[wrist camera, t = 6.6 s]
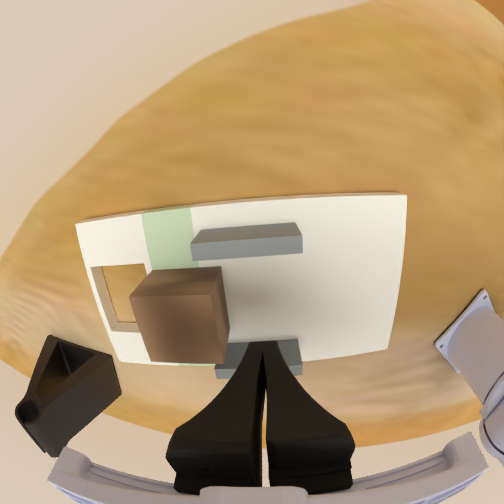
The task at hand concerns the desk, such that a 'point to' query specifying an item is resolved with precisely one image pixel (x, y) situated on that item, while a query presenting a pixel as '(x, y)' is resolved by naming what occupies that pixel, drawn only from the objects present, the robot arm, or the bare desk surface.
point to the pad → (170, 240)
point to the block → (183, 315)
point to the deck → (275, 272)
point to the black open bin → (66, 393)
